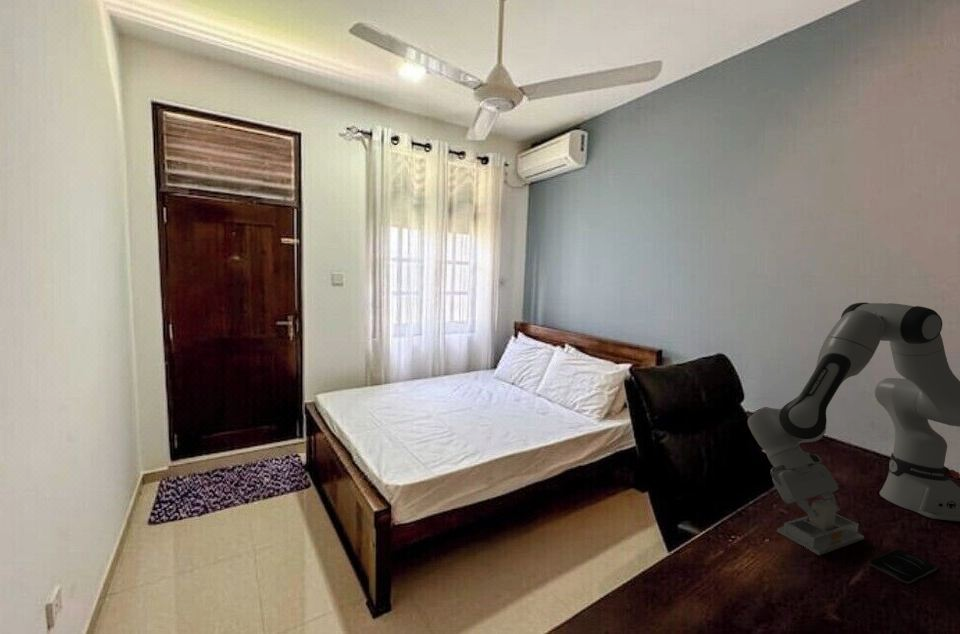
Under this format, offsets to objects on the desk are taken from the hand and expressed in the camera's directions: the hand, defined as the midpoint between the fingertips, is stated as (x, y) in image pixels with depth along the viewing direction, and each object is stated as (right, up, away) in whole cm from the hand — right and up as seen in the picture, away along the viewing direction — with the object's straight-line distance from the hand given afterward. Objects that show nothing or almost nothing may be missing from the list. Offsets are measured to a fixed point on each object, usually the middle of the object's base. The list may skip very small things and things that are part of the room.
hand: (826, 514), depth 109 cm
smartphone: (+11, -8, -9) cm, 17 cm away
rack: (-1, -6, +1) cm, 6 cm away
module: (-1, -5, +1) cm, 5 cm away
